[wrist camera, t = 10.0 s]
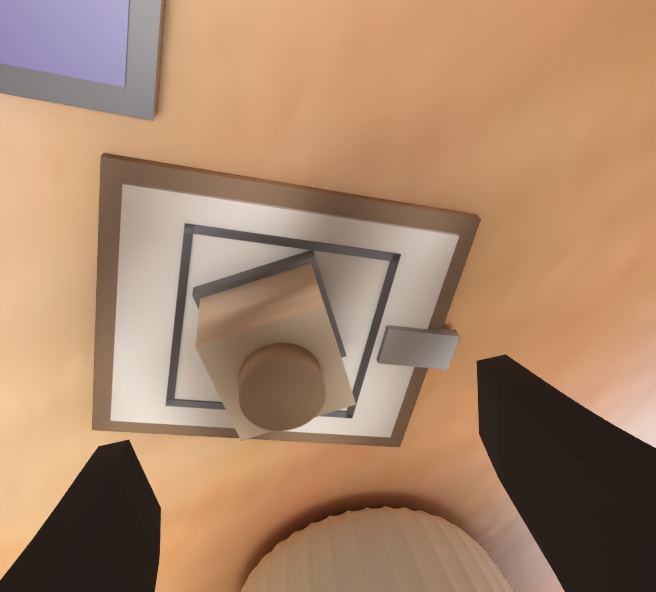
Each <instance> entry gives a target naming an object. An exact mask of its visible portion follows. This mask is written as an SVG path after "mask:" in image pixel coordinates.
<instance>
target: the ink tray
mask: <svg viewBox="0 0 656 592" xmlns="http://www.w3.org/2000/svg"><path fill="white" fill-rule="evenodd" d="M164 5H165V0H0V93H3V94H9V95H14V96H20V97H25V98H31V99H36V100H42V101H47V102H53V103H58V104H64V105H69V106H75V107H80V108H86V109H91V110H97V111H102V112H108V113H113V114H119V115H124V116H130V117H135V118H141V119H146V120H152V121H153V119H154V117H155V116H156V113H157V99H158V86H159V72H160V59H161V46H162V32H163V19H164Z"/></svg>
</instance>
